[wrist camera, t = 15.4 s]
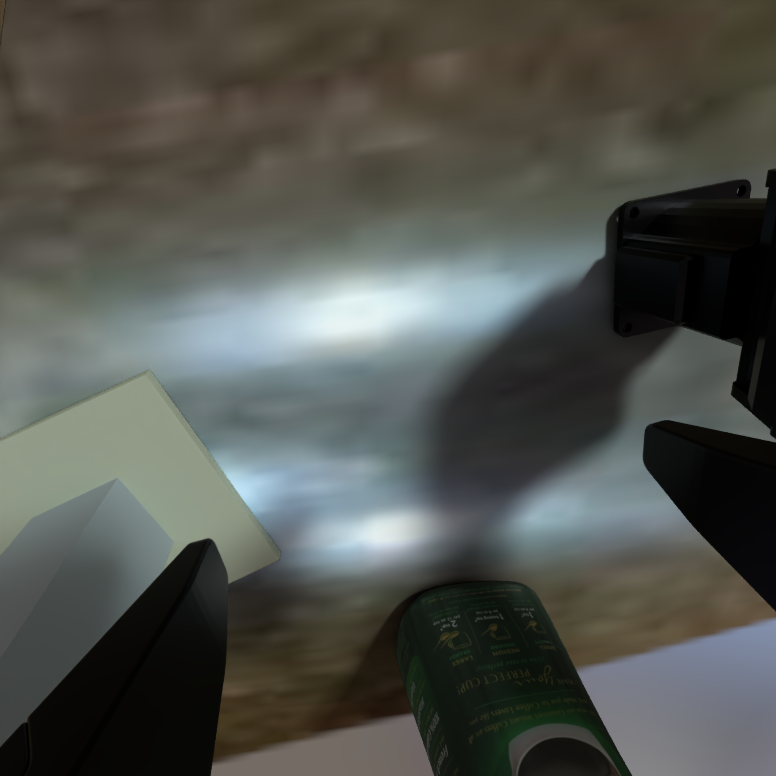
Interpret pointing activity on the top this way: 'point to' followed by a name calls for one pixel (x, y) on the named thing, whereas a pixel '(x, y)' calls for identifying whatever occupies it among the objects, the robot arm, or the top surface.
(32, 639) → the post
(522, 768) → the coffee jar
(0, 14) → the pocket
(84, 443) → the mat
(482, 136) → the top surface
